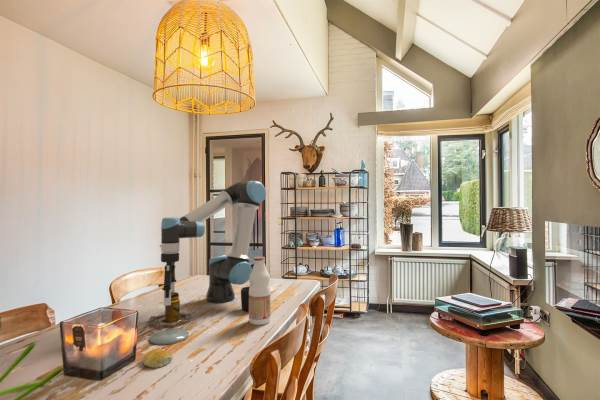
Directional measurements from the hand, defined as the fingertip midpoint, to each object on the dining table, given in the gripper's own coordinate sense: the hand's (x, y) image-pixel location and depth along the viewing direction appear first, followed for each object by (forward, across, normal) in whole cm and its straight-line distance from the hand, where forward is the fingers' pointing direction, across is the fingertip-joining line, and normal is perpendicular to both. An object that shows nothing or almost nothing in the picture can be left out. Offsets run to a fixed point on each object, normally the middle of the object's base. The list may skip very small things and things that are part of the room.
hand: (169, 301), depth 152 cm
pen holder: (+8, -8, +36) cm, 38 cm away
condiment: (+9, 0, 0) cm, 9 cm away
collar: (+9, 0, 0) cm, 9 cm away
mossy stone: (+10, +41, +2) cm, 42 cm away
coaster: (+9, +20, +2) cm, 22 cm away
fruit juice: (+9, +11, +38) cm, 41 cm away
